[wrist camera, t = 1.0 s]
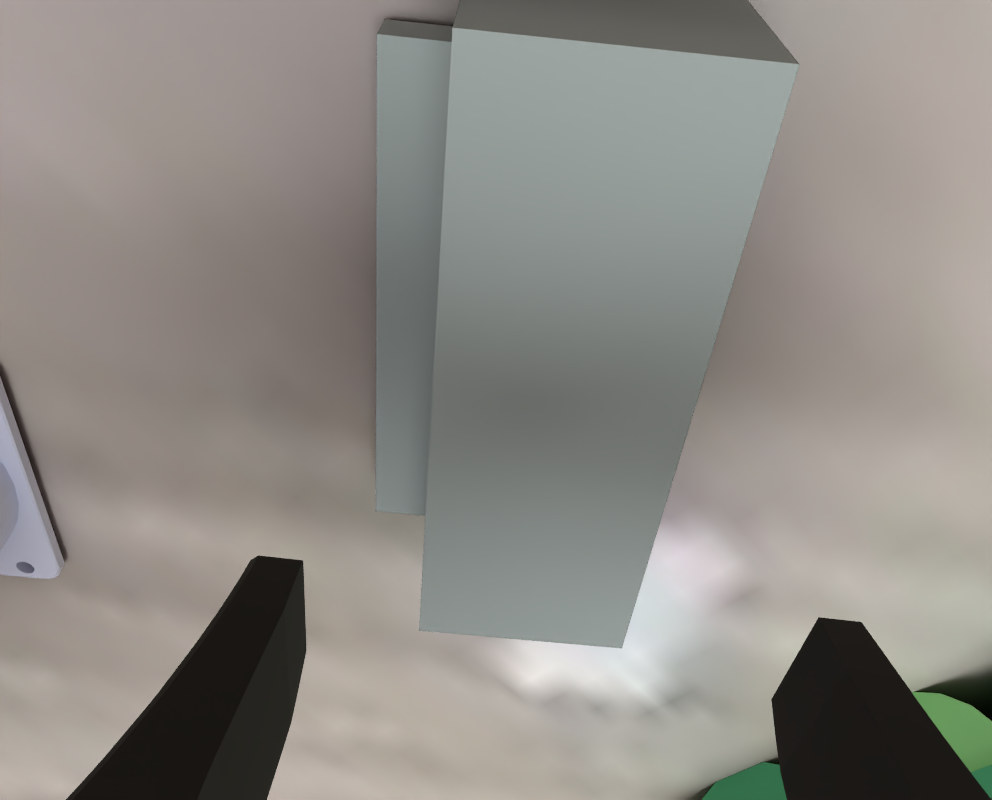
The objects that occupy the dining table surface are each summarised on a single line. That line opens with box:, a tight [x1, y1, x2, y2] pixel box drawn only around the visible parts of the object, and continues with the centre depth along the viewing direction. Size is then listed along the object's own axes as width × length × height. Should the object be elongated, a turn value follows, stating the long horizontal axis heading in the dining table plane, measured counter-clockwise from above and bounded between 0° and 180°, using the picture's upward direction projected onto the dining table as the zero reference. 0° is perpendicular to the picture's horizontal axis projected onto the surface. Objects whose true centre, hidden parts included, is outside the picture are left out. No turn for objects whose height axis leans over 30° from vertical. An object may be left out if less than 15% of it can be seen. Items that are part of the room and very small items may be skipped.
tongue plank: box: [376, 0, 800, 648], centre depth 18 cm, size 14×6×4 cm, turn 175°
